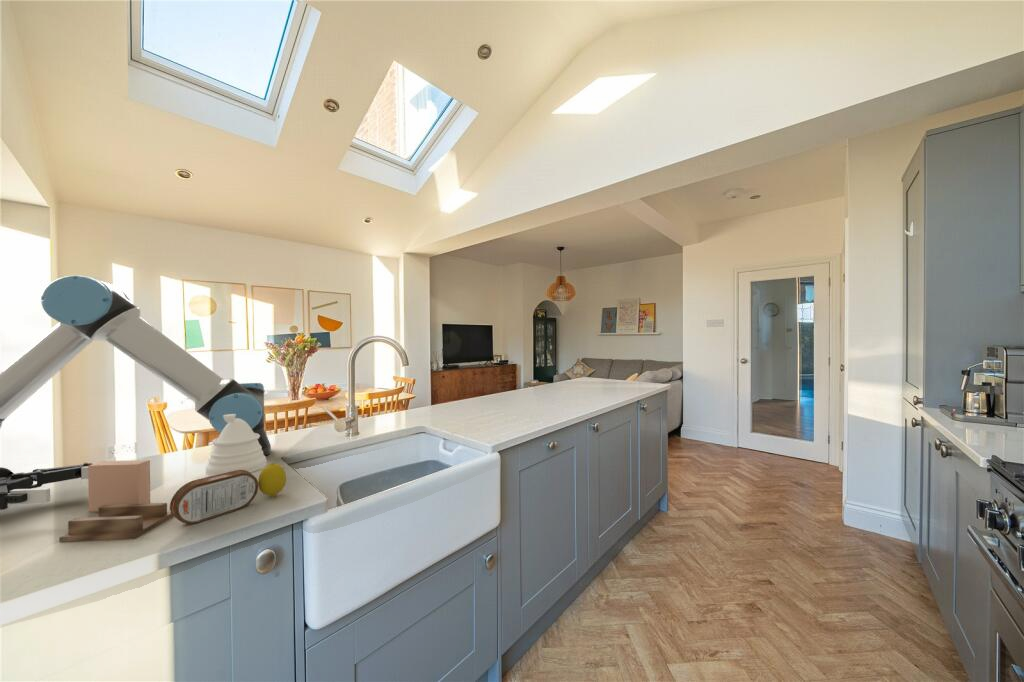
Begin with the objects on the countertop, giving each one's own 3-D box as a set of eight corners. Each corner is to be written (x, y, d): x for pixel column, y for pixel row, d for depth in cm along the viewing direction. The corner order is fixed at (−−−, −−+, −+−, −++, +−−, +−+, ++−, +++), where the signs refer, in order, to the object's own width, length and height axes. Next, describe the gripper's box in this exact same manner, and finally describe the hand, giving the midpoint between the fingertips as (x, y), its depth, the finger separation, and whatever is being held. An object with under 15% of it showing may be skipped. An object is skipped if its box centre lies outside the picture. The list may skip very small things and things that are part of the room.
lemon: (262, 493, 92) (262, 460, 92) (288, 491, 94) (288, 458, 93) (255, 503, 87) (254, 468, 86) (282, 500, 88) (282, 465, 88)
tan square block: (88, 511, 83) (88, 465, 83) (102, 505, 86) (101, 461, 86) (138, 509, 84) (138, 464, 84) (150, 503, 87) (149, 459, 87)
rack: (59, 541, 70) (59, 524, 70) (106, 518, 79) (106, 502, 79) (135, 538, 72) (135, 520, 72) (173, 516, 80) (173, 500, 80)
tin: (254, 500, 88) (254, 464, 88) (260, 504, 86) (260, 467, 86) (169, 527, 76) (168, 485, 76) (174, 532, 74) (174, 488, 74)
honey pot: (235, 494, 92) (234, 419, 91) (191, 490, 94) (190, 417, 94) (278, 475, 104) (277, 409, 104) (238, 472, 107) (238, 408, 107)
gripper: (42, 481, 95) (134, 478, 96) (-115, 533, 70) (13, 528, 71) (41, 451, 94) (134, 449, 96) (-116, 492, 70) (13, 488, 71)
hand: (83, 482), depth 84 cm, fingers open, 13 cm apart
